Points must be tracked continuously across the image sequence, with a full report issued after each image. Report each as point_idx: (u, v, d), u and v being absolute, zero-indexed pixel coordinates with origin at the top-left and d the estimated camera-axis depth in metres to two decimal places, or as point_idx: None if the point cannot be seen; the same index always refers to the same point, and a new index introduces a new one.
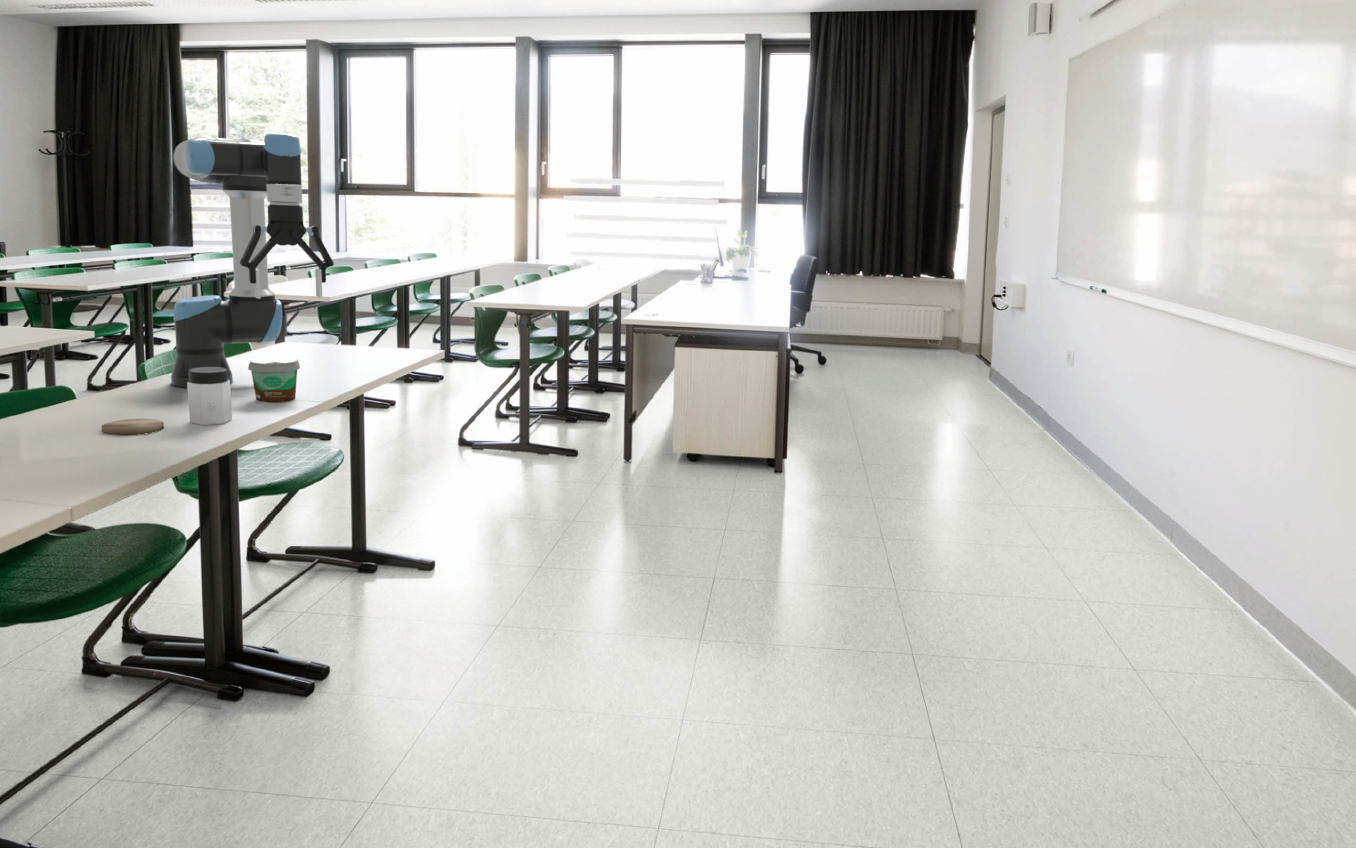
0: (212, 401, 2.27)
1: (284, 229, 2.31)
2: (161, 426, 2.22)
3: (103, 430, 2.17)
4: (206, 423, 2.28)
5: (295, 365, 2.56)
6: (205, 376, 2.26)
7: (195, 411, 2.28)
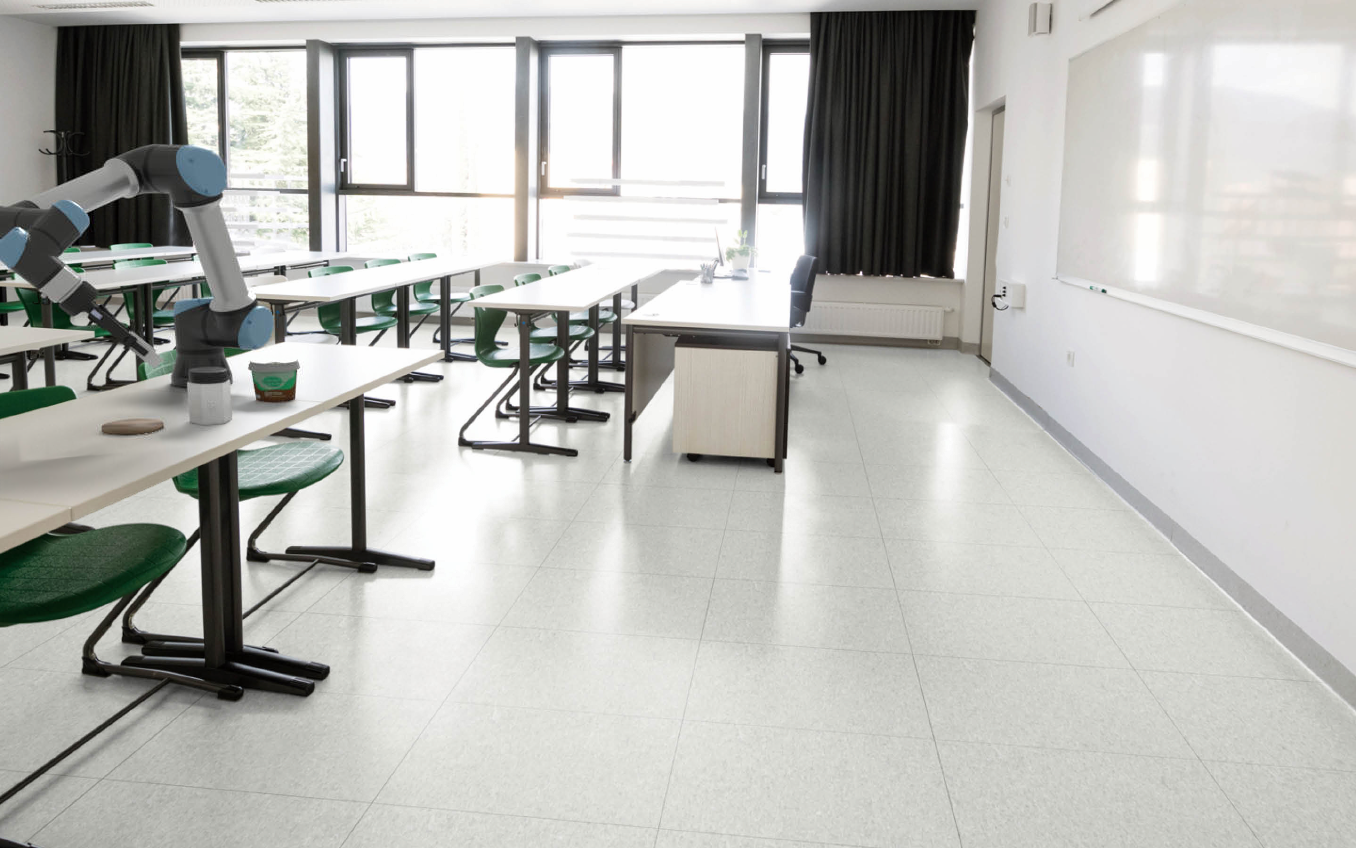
0: (212, 401, 2.27)
1: None
2: (161, 426, 2.22)
3: (103, 430, 2.17)
4: (206, 423, 2.28)
5: (295, 365, 2.56)
6: (205, 376, 2.26)
7: (195, 411, 2.28)
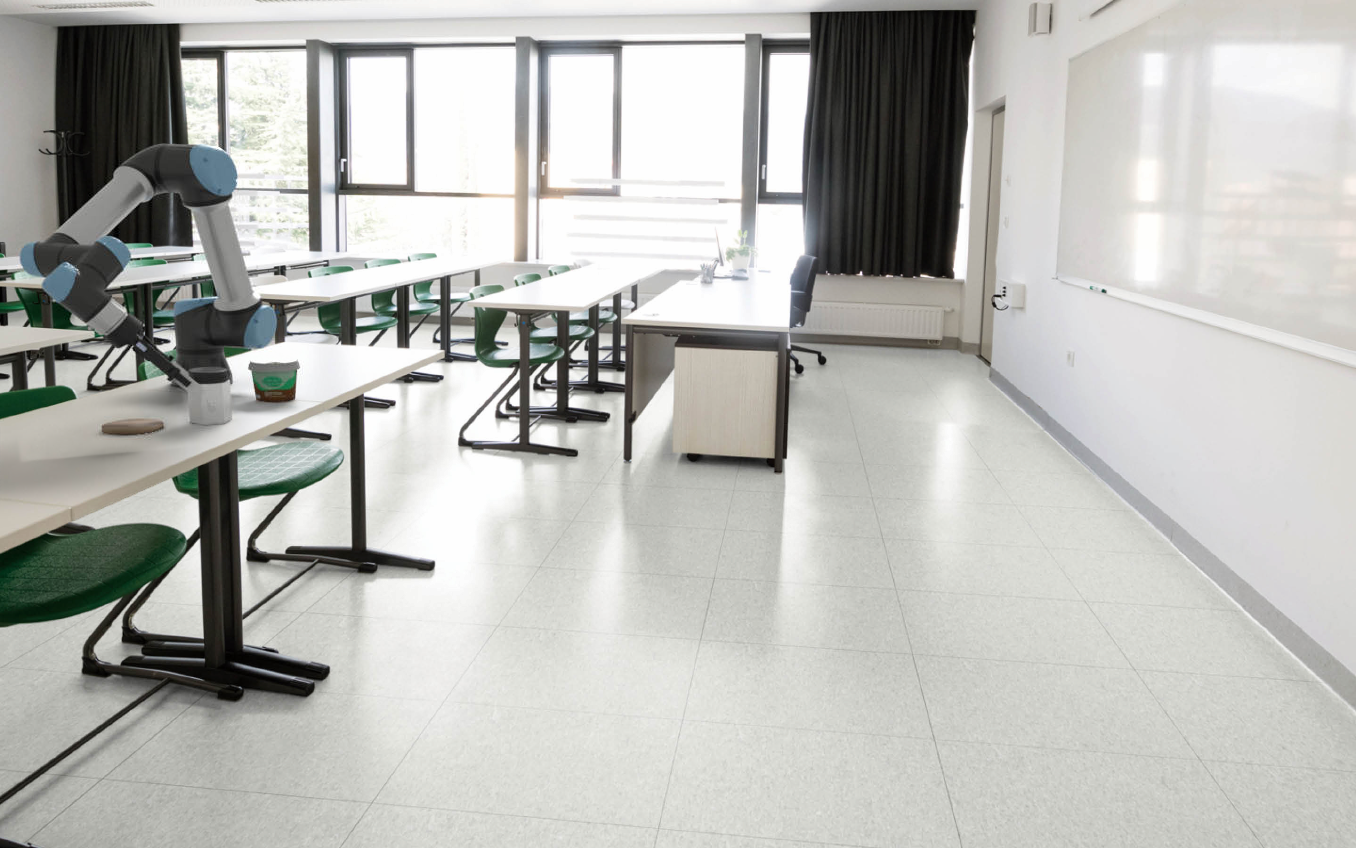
0: (212, 401, 2.27)
1: (134, 345, 2.20)
2: (161, 426, 2.22)
3: (103, 430, 2.17)
4: (206, 423, 2.28)
5: (295, 365, 2.56)
6: (205, 376, 2.26)
7: (195, 411, 2.28)
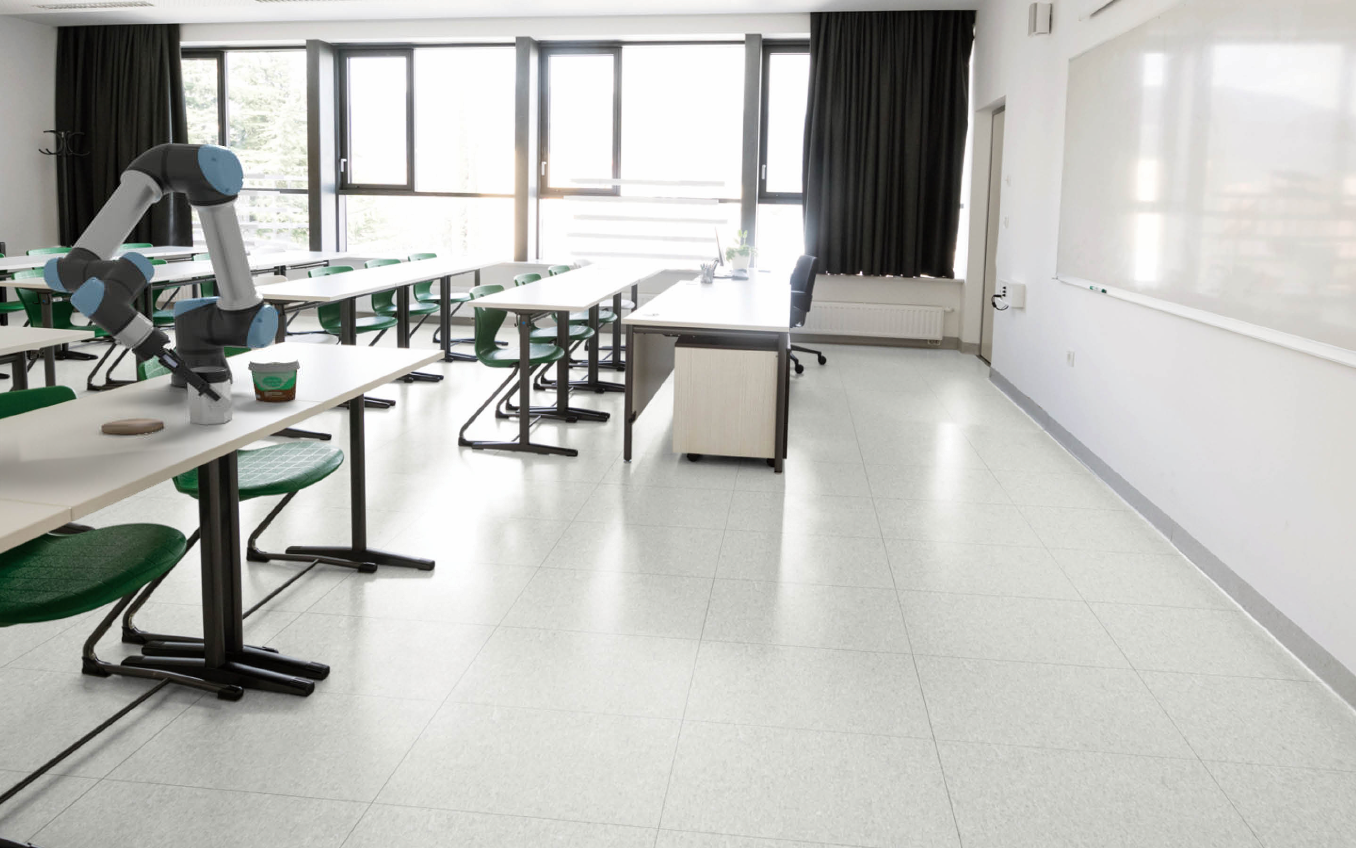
0: None
1: None
2: (161, 426, 2.22)
3: (103, 430, 2.17)
4: (206, 423, 2.28)
5: (295, 365, 2.56)
6: (205, 376, 2.26)
7: (195, 411, 2.28)
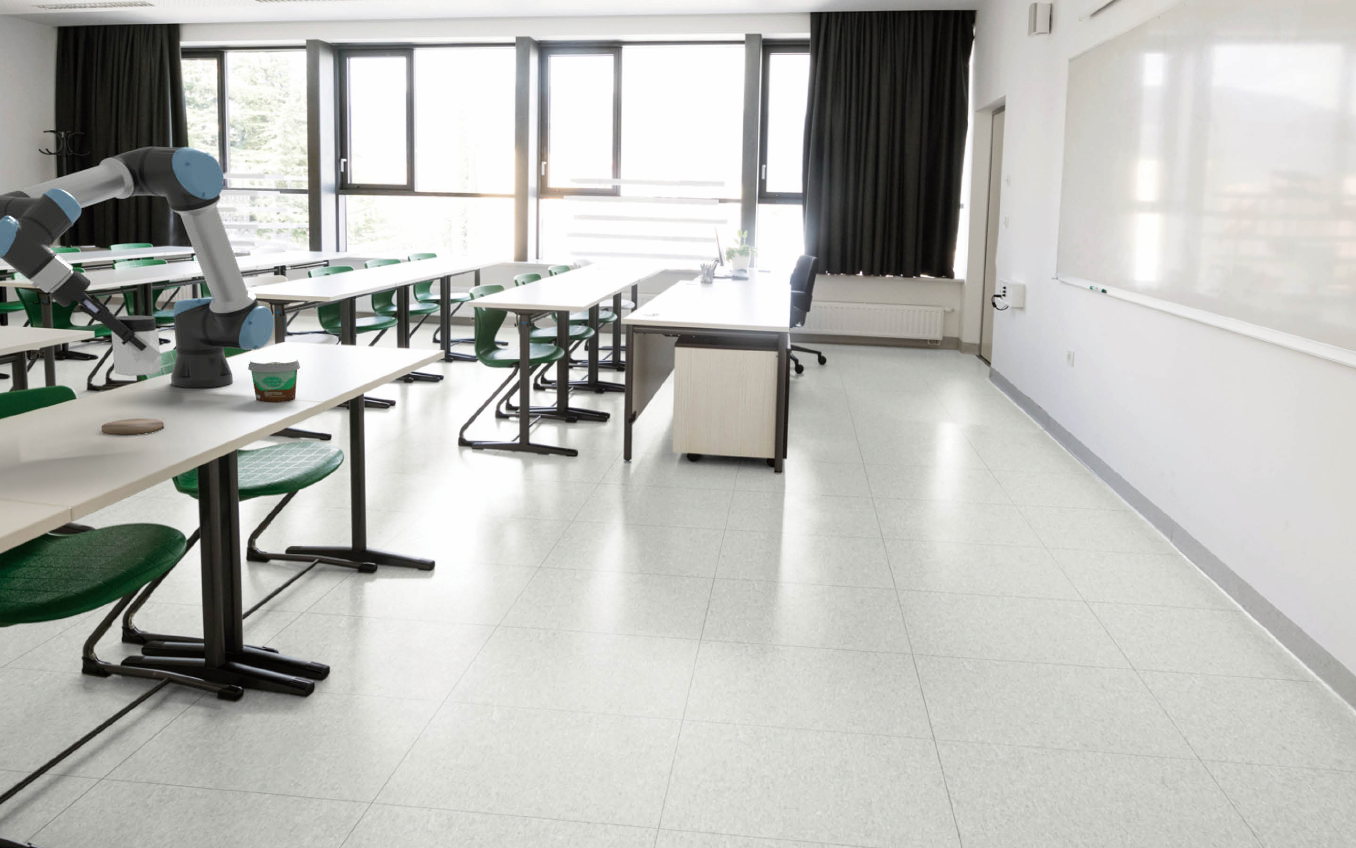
0: None
1: None
2: (161, 426, 2.22)
3: (103, 430, 2.17)
4: (131, 373, 2.16)
5: (295, 365, 2.56)
6: (130, 323, 2.14)
7: (120, 361, 2.16)
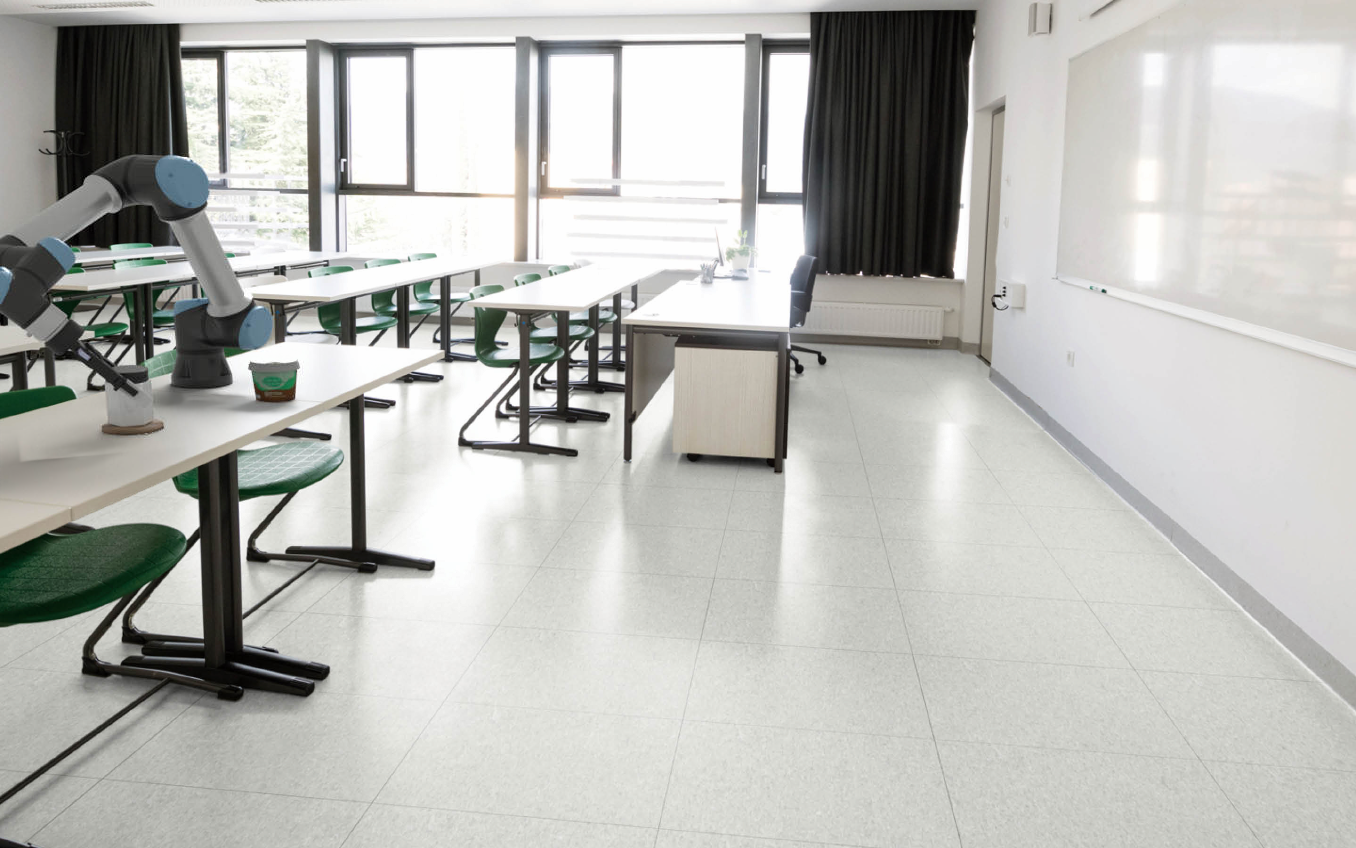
0: (130, 402, 2.18)
1: None
2: (161, 426, 2.22)
3: (103, 430, 2.17)
4: (124, 425, 2.19)
5: (295, 365, 2.56)
6: (123, 376, 2.16)
7: (113, 412, 2.19)
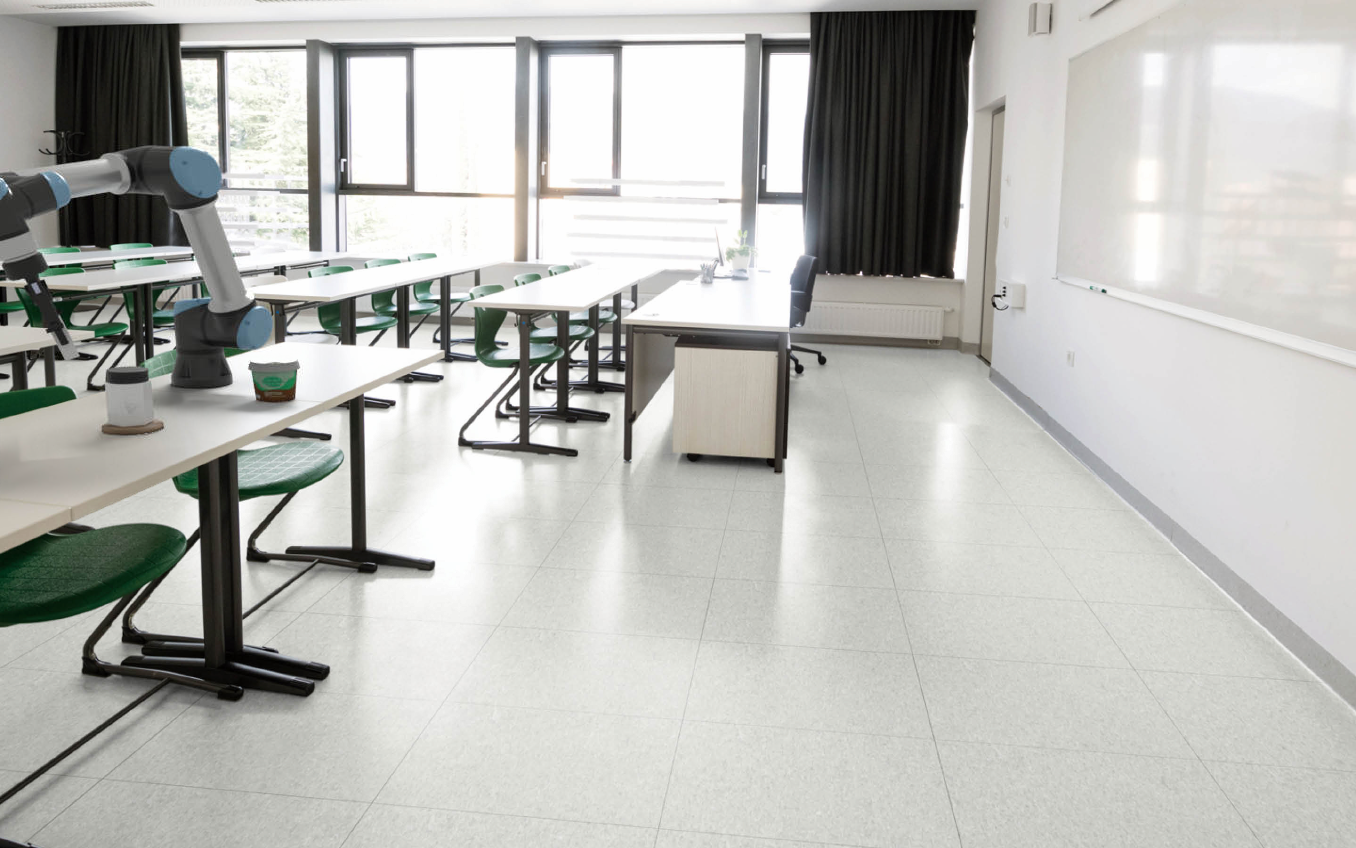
0: (130, 402, 2.18)
1: None
2: (161, 426, 2.22)
3: (103, 430, 2.17)
4: (124, 425, 2.19)
5: (295, 365, 2.56)
6: (123, 376, 2.17)
7: (113, 412, 2.19)
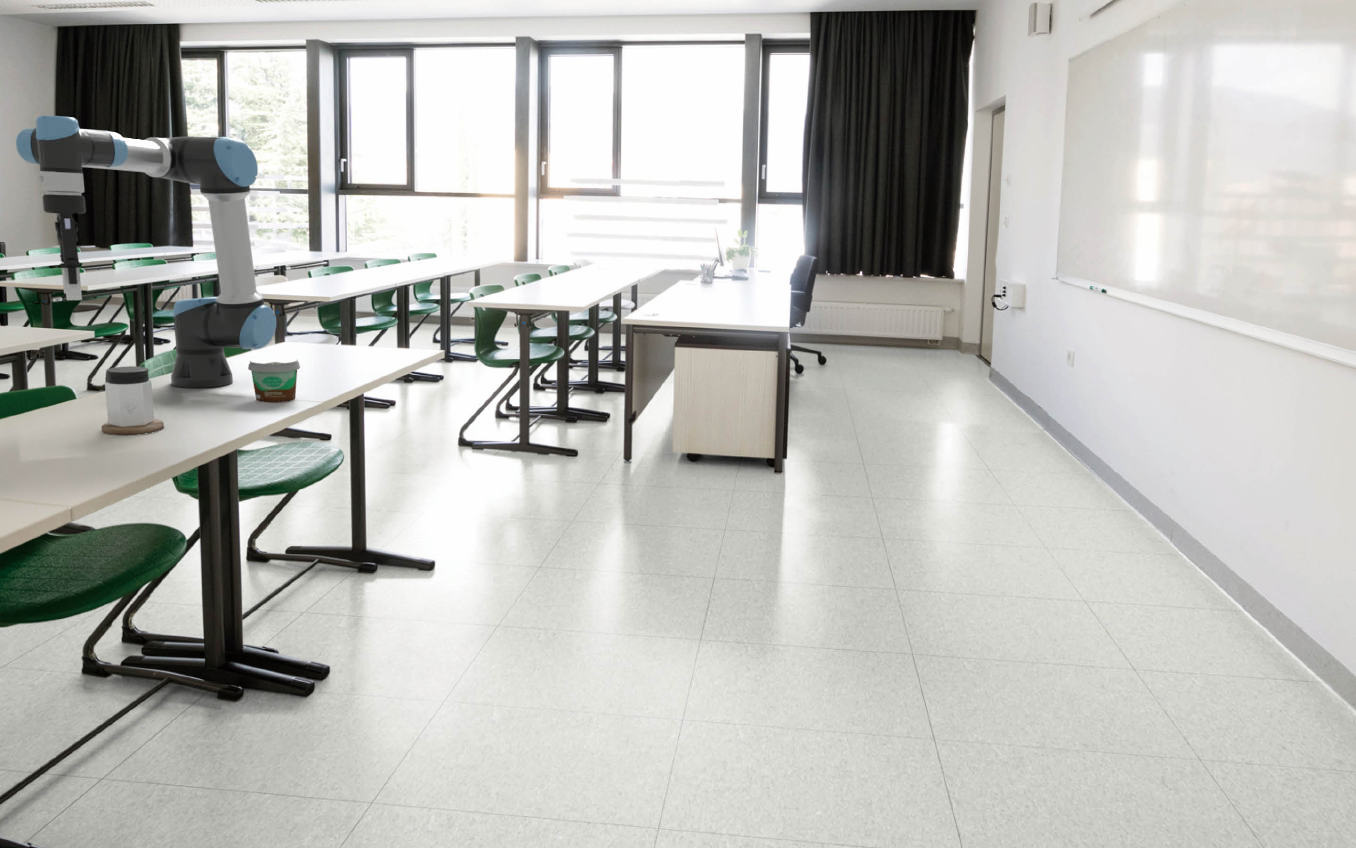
0: (130, 402, 2.18)
1: (59, 221, 2.10)
2: (161, 426, 2.22)
3: (103, 430, 2.17)
4: (124, 425, 2.19)
5: (295, 365, 2.56)
6: (123, 376, 2.17)
7: (113, 412, 2.19)
